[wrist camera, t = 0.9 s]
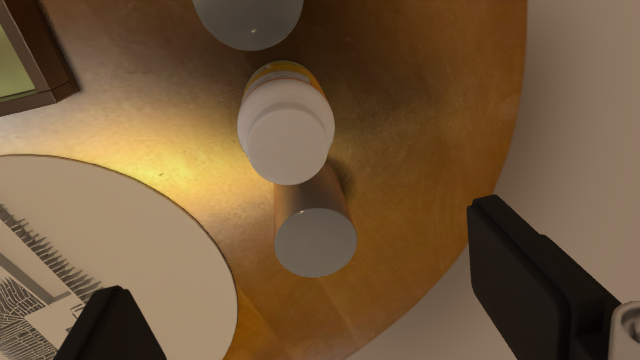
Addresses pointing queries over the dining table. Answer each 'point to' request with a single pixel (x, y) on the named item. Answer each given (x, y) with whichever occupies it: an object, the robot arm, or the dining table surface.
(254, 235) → the dining table surface
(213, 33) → the grey jar
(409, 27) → the dining table surface
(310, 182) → the grey jar
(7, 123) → the dining table surface
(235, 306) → the plate
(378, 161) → the dining table surface
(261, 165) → the supplement bottle
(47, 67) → the divided wooden tray
